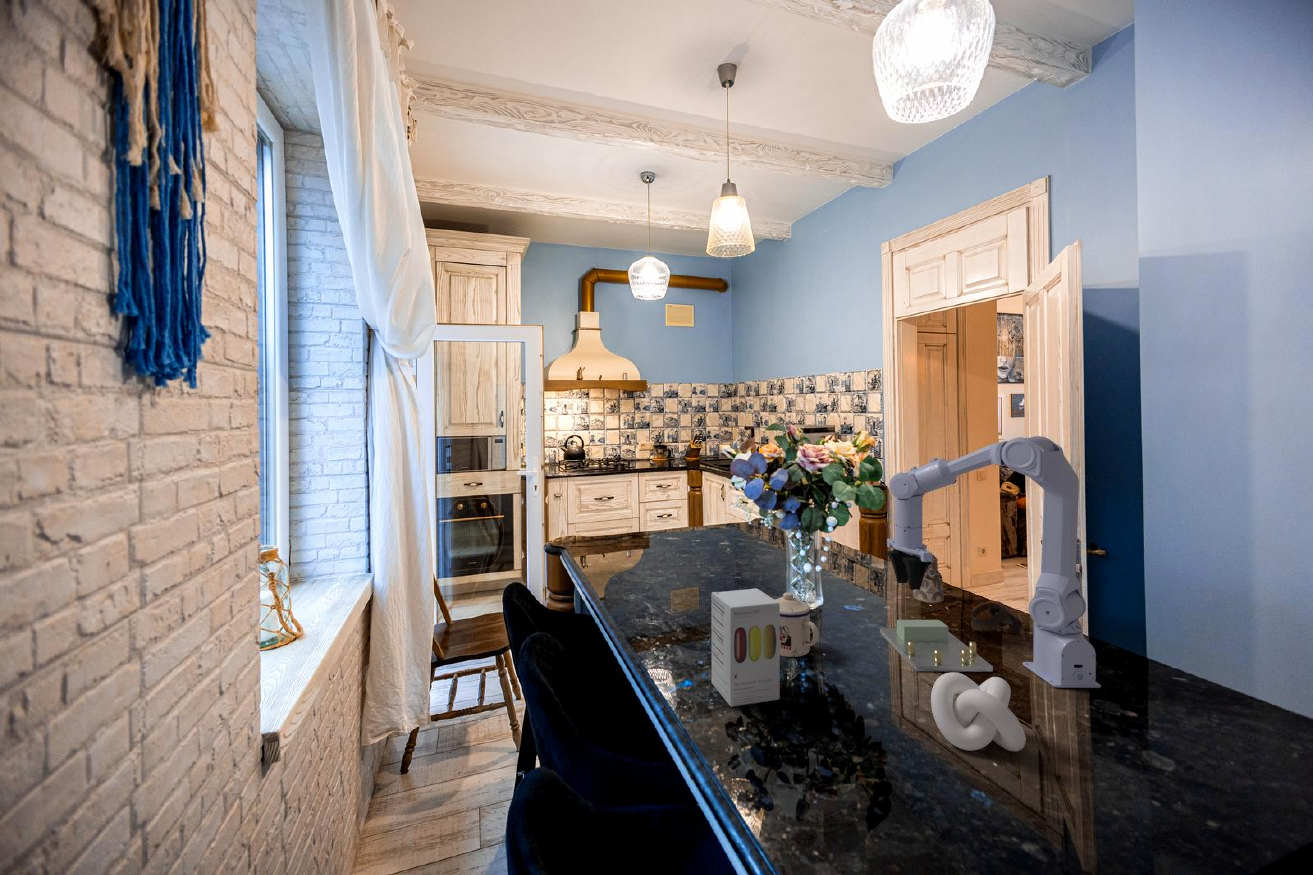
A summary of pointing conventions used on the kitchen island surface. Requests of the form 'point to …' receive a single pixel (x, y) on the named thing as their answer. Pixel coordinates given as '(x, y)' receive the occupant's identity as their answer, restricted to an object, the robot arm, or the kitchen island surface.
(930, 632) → the pale green block
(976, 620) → the pottery mug
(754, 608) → the supplement box
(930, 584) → the figurine
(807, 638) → the teacup with lid
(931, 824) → the kitchen island surface
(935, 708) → the white decorative knot
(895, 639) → the chassis
